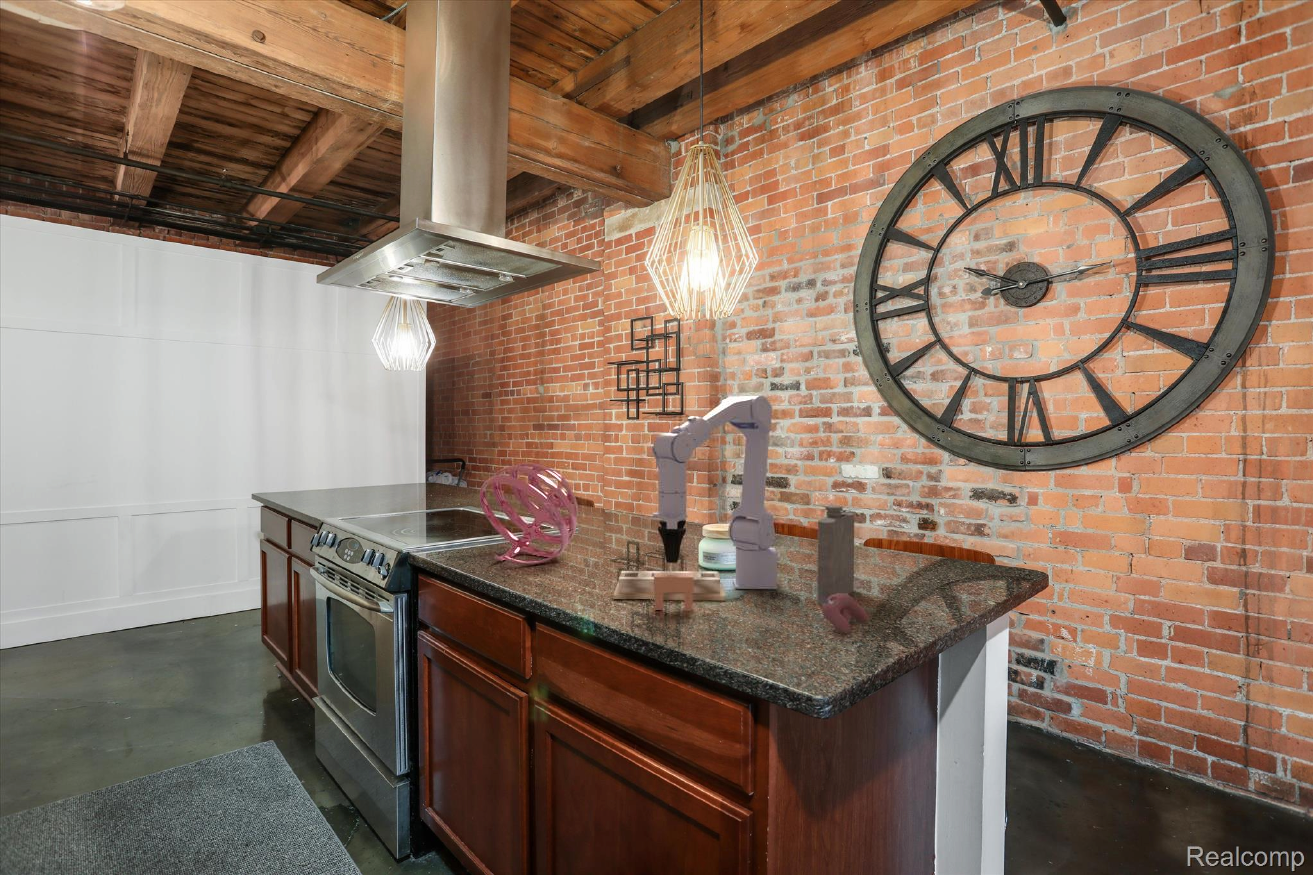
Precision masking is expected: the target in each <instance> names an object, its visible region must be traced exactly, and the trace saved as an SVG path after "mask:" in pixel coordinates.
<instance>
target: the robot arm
mask: <svg viewBox="0 0 1313 875" xmlns="http://www.w3.org/2000/svg"><path fill="white" fill-rule="evenodd" d="M772 412H773V406H772V404H771V403H770V402H769V400H768V398H767V397H766V396H764V395H763V394H762V395H757V396H756V395H755V396H754V395H753V396H751V395H750V396H735V395H734V396H733V395H731V396H728V397H727V398H725V399H723V400H721V403H720V404H718V406H717V407H715V408H714V409H713V410H711V411H710V412H709V413H707V414H706V415H705V416H703V417H701V416H692V415H691V416H689V417H688V418H687V419H686V420H687V421H686V422H684V423H683V424H681V425H679V426H675V427H673V428H672V431H671V432H670V433H669V432H668V433H667V432H663V433H661V434H659V435H658V436H657V437H656V439H655V440H654V443H653V446H651V452H652V455H653V456H654V459H655V462H656V467H657V471H658V473H657V474H658V475H657V476H658V479H657V480H658V487H657V488H658V490H657V492H658V495H657V497H658V512H653V513H652V518H658V519H660V520H659V522H658V523H659V525H660V526H657V531H658V534H659V536H660V538H661V541H662V545H663V549H664V555H665V561H666V564H667V563H668V564H670V563H671V564H676V563H678V562H679V558H680V551H681V545H682V541H683V539H684V536H685V534H686V533H687V527H685V525H686V524H687V519H688V512H687V462H688V461H689V460H690V459H691V457H692V456H693V453H694V451H695V450H696V449H697V448H699V447H700V446H701V445H703V444H704V443H706V442H708V441H709V440H710V438H712V432H714V431H715V430H717V429H719V428H720V427H722V426H724V425H726V424H727V423H728V424H729V425H730V426H732V427H734V429H736V430H737V431H739V432H740V433H741V434H742V435H743V437H745V444H744V445H745V447H744V460H743V472H742V473H743V474H742V486H741V498H740V505H738V506H737V507H736V508H735V509H734V510H732V511H731V519H730V522H729V525H728V528H727V531H728V532H727V534H728V537H729V540H730V541H731V542H732V544H733V545H732V546H733V547H735V577H733V578H732V582H733V585H734V588H735V589H738V590H777V589H778V556H777V549H776V548H775V547H771V545H772V544H773V543H774V540H775V536H776V530H775V526H774V515H773V514H772V513H771V512H770V510H768V509H767V508H766V506H765V498H766V497H765V496H766V487H767V486H766V484H767V471H768V470H767V469H768V458H769V457H768V456H769V445H770V444H769V443H770V442H769V441H770V433H771V428H772V427H771V426H772V415H773V414H772Z"/></svg>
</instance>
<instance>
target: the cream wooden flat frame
mask: <svg viewBox="0 0 1313 875" xmlns="http://www.w3.org/2000/svg"><path fill="white" fill-rule="evenodd" d="M654 573H660V574H693V576H694V592H693V601H726V593H725V589H724V586H723V583H722V582H721V578H720V574H719V571H715V570H714V571H708V570H706V571H699V570H698V571H697V570H695V571H693V570H691V571H687V570H686V571H684V570H683V571H679V570H677V571H676V570H673V571H672V570H665V571H664V570H661V571H660V570H621V572H620V575H619V578H618V581H617V585H616V587H615V590H614V591H613V592H614V593H613V600H614V599H650V600H649V601H655V592H654ZM651 599H652V600H651ZM663 601H684V592H663Z"/></svg>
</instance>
